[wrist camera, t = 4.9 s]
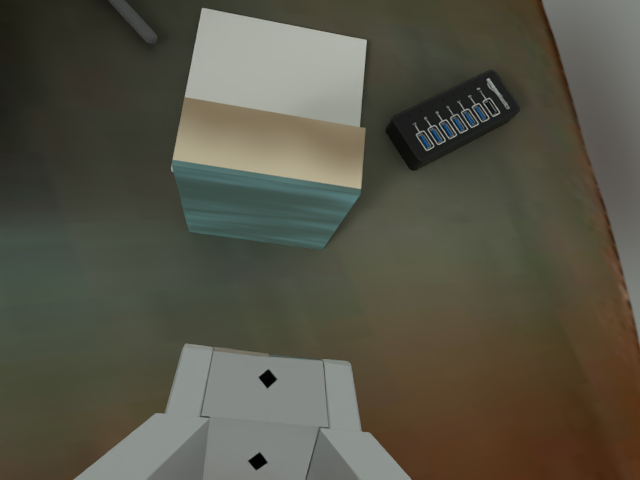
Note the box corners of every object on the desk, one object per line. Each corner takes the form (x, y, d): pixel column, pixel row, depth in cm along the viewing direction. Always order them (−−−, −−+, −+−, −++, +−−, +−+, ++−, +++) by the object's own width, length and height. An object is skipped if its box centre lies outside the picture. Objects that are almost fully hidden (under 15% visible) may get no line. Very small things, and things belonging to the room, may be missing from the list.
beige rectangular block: (322, 250, 39) (360, 194, 28) (188, 231, 38) (171, 165, 26) (327, 201, 40) (365, 128, 29) (197, 181, 39) (184, 97, 28)
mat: (352, 199, 41) (354, 196, 40) (171, 171, 39) (170, 168, 38) (365, 44, 45) (366, 40, 44) (202, 12, 43) (202, 7, 42)
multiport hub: (382, 130, 43) (390, 116, 41) (481, 82, 46) (493, 67, 44) (410, 174, 43) (420, 162, 40) (508, 122, 46) (523, 109, 43)
